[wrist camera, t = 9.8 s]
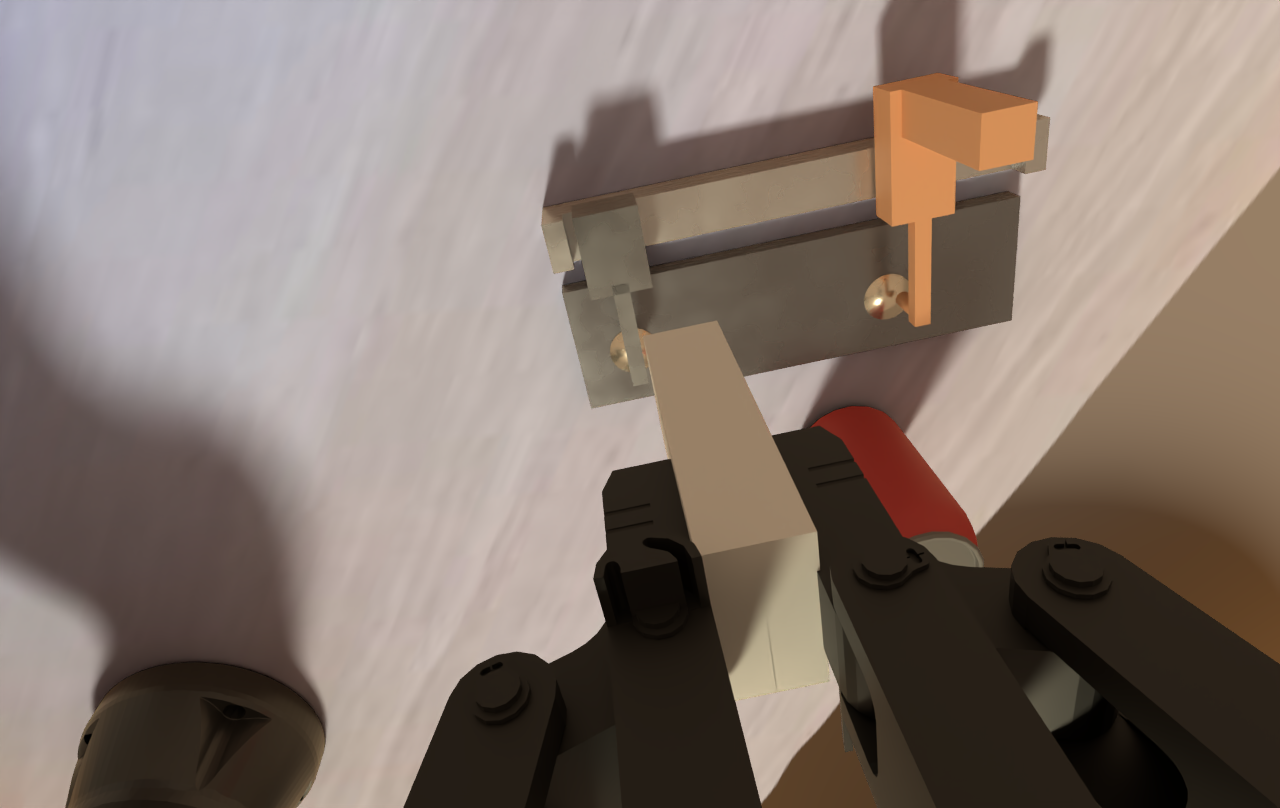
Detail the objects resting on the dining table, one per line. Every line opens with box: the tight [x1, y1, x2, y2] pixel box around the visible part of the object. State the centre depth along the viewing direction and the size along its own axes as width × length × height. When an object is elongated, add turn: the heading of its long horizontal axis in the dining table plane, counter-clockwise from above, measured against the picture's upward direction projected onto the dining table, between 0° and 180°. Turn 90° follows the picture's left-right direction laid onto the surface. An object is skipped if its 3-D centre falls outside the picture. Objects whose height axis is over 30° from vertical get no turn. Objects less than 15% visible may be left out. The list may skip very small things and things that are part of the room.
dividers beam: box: [541, 114, 1050, 386], centre depth 37 cm, size 24×9×4 cm, turn 101°
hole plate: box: [562, 191, 1020, 408], centre depth 41 cm, size 24×7×1 cm, turn 101°
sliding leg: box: [873, 73, 1038, 327], centre depth 33 cm, size 3×12×10 cm, turn 10°
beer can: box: [811, 406, 984, 567], centre depth 41 cm, size 7×7×12 cm
